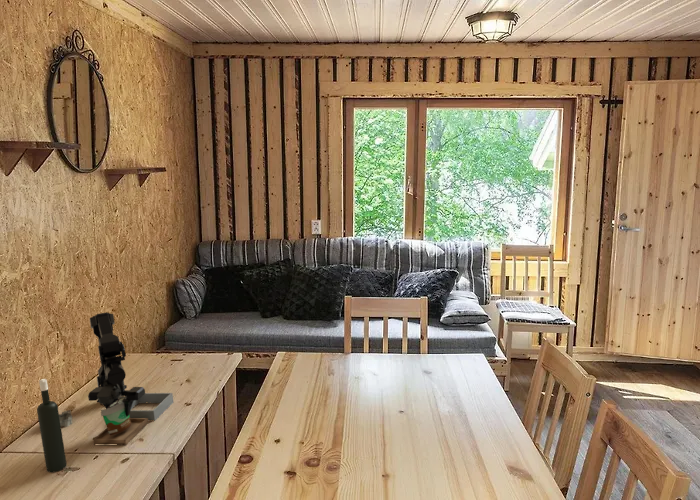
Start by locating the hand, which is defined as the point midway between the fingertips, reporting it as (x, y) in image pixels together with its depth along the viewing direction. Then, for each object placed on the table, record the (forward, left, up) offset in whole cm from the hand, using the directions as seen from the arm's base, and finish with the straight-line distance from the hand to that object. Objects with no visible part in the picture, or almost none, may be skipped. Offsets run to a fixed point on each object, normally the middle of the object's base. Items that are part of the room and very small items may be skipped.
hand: (119, 416), depth 200 cm
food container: (+1, 0, -5) cm, 5 cm away
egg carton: (-30, +6, -7) cm, 31 cm away
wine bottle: (-10, -23, -7) cm, 26 cm away
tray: (0, 0, -7) cm, 7 cm away
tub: (0, +18, -7) cm, 19 cm away
